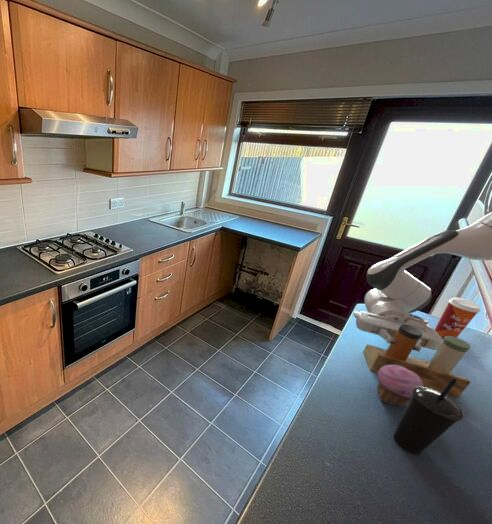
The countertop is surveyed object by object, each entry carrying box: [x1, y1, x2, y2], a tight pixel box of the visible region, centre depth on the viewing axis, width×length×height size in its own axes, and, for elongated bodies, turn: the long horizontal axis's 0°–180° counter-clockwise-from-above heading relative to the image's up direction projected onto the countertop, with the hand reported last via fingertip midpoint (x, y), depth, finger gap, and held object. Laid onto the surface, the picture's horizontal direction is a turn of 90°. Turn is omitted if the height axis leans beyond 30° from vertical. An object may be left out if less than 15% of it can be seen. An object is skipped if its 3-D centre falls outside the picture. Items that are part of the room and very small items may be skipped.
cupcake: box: [376, 365, 424, 407], centre depth 72 cm, size 9×9×10 cm
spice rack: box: [362, 344, 471, 399], centre depth 82 cm, size 20×9×6 cm, turn 65°
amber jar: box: [384, 325, 422, 361], centre depth 81 cm, size 5×5×11 cm
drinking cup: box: [392, 378, 465, 455], centre depth 59 cm, size 8×8×20 cm
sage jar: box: [426, 336, 471, 374], centre depth 78 cm, size 5×5×11 cm
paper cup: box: [434, 296, 481, 339], centre depth 98 cm, size 8×8×14 cm
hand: (404, 345), depth 80 cm, fingers closed on amber jar, 4 cm apart
